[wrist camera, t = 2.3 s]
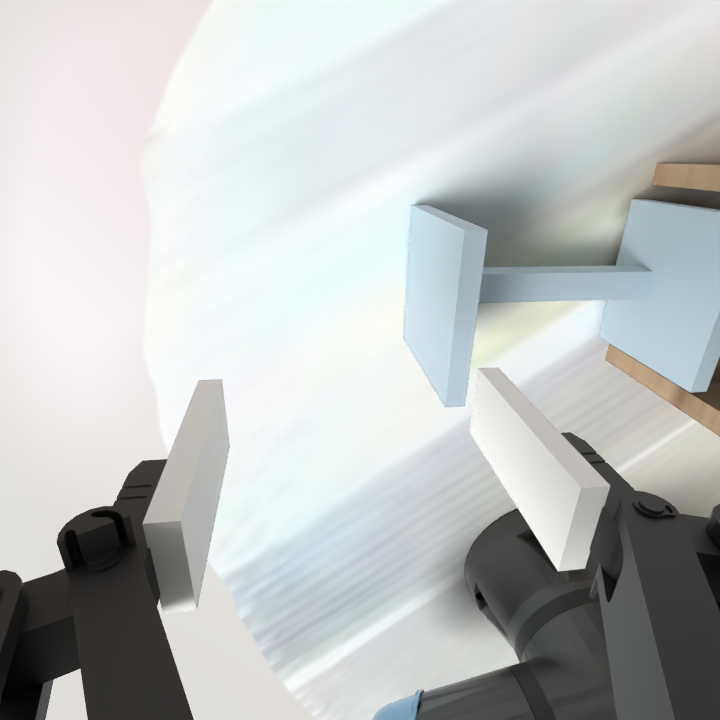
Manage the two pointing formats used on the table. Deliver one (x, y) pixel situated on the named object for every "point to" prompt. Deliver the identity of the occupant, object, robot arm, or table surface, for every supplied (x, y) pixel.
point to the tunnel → (716, 405)
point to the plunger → (572, 293)
